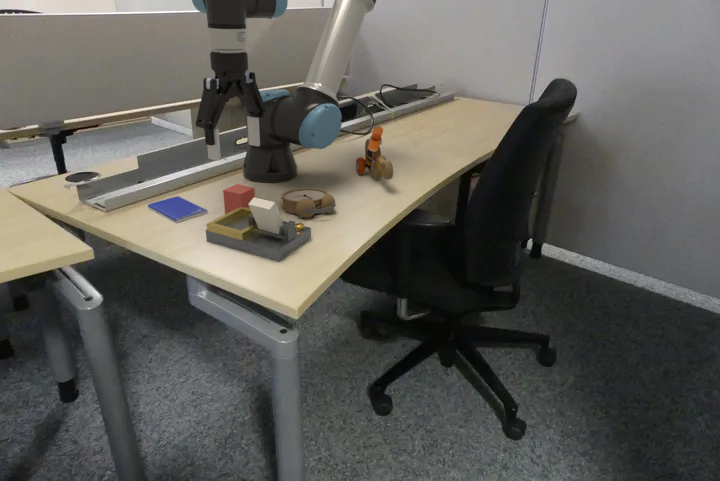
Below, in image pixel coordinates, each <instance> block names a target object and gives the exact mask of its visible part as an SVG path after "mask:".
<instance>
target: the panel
mask: <svg viewBox="0 0 720 481" xmlns="http://www.w3.org/2000/svg"><path fill="white" fill-rule="evenodd" d="M281 219H282V222H283V225H284V236H280V235H276V234H272V233H269V232H265V231H261V230H258V229H257V223H256V221H255V219H254V216H253V214H252V212H251V209H249V208H245V207H239V208H237V209H235V210H233V211H231V212H229V213H227V214H225V213H224V214H223V215H221V216H219V217H217V218H216V219H214V220H212V221H209V222H208V223H206V229H205V238H206V242H209V243H213V244H216V245H220V246H223V247H227V248H230V249H234V250H237V251H240V252H243V253H247V254H250V255H255V256H258V257H261V258H264V259H268V260H272V261H276V262H280V261H282V260H284V258H286V257H288V256H289V255H291V254H292V253H293V252H294V251H296V250H298V249H299V248H300V247H301V246H303V245H305V244H306V243H307V242H309V241H310V240H312V227H309V226H306V225H304V223H302V222H298V223H297V222H296V221H293V220H289V221H285V220H283V218H282V217H281ZM295 222H296V223H295Z"/></svg>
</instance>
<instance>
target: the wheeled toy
mask: <svg viewBox="0 0 720 481" xmlns="http://www.w3.org/2000/svg"><path fill="white" fill-rule="evenodd" d="M383 132H384V128H383V127H381V126H375V127H373V131H372V134H371V135H370V137H369V138H367V139H365V143H364V144H365V145H364V157H357V158H356V160H355V170H356V173H357V175H364V174H365V173H366V169H367V171H368V172H369V173H370V174H371V176H372V179H373V180H374V179H378V180H381V178H383V180H392V179H393V177H394V166H393V163H392V161H391V160H387V159H386V157H385V156H384V155H383V154H382V150H381V147H380V146H381V145H382V143H383V138H382V136H383V134H384V133H383Z"/></svg>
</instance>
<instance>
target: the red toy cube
mask: <svg viewBox="0 0 720 481" xmlns="http://www.w3.org/2000/svg"><path fill="white" fill-rule="evenodd" d="M222 191H223V194H222V195H223V203H224V204H223V205H224V206H223V207H224V215H225V214H227V213H229V212H231V211H233V210H235V209H237V208H239V207H245V208H249V209H250V207H249V205H248V204H249V203H250V202H251V200H252V199H253V198H256V191H255V186H254V187H253V186H249V185H244V184H241V183H236V184H234V185H231V186H229V187H227V188H225V189H223V190H222Z"/></svg>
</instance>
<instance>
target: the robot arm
mask: <svg viewBox="0 0 720 481" xmlns="http://www.w3.org/2000/svg"><path fill="white" fill-rule="evenodd" d="M191 3H192V5H193V7H194V8H195V9H196V11H198V12H200V13H201V14H206V21H207V36H208V47H209V49H211V50H212V51H210V53H209V57H210V58H209V60H210V68H211V70H212V71H213V73H214V78H211V77H204V78H203V81H202V83H203V84H202V85H203V86H202V87H203V90H202V96H201V99H200V104H199V106H198V107H199V108H198V110H197V111H198V113H197V117H196V119H195V120H196V121H195V127H196V128H201V129H203V130H204V131H203V132H204V140H205V141H204V142H205V144H206V145H207V146H206V147H207V155H208V156H207V157H208V158H207V159H209V160H213V161H217V162H219V161H222V159H221V158H222V157H221V146H220V145H221V142H220V133H219V129H218V128H216V127H217V125H218V122H219V120H220V118H221V116H222V112H223V111H224V108H225V107H226V103H228V102H229V100H231V99H234V98H238V99H239V101H240V103H241V104H242V105H243V107H244V112H245V113H244V114H245V125H246V127H245V128H246V136H247V137H246V139H247V150H246V153H245V158H244V161H243V165H242V175H243V177H244V178H245V179H247V180H248V181H249V180H250V181H253V182H260V183H278V182H279V183H280V182H285V181H289V180H291V179H294V178H296V176H297V175H298V165H297V162H296V160H295V159H296V158H295V157H294V153H293V151H292V148H291V145H296V146H300V147H304V148H306V149H316V150H323V149H326V148H327V147H329V146H331V145H332V144H333V143H334V142H335V140H337V137H338V136H339V133H340V132H341V129H342V124H343V122H342V121H341V120H343V119H342V118H343V116H342V112H341V110H340V108H339V107H340V102H339V100H338V97H337V95H338V91H339V89H340V85H341V83H342V80H343V78H344V74H345V71H346V70H347V66H348V63H349V61H350V59H351V55H352V52H353V49H354V47H355V44H356V41H357V38H358V35H359V33H360V29H361V28H362V25H363V21H364V18H365V16H366V14H368V13H371V12H372V11H373V10H374V8H375V5H376V3H377V0H334V2H333V5H332V7H331V10H330V13H329V15H328V19H327V21H326V24H325V27H324V30H323V32H322V35H321V38H320V40H319V43H318V46H317V49H316V51H315V54H314V57H313V60H312V62H311V64H310V65H311V66H310V67H309V71H308V74H307V76H306V79H305V82H304V83H303V84H301V85H298V86H296V89H295V91H294V94H293V96H292V97H290V92H289V90H288V89H286V88H277V89H275V88H274V89H263V90H260V89H259V86H258V85H257V84H258V83H257V78H256V74H255V72H254V71H253V72H252V71H248V70H249V57H248V53H247V52H246V51H245V50H246V49H248V44H247V30H246V29H247V19H270V20H272V19H274V18H275V19H276V18H279V17H282V15H284V14H285V12H286V10H287V8H288V3H289V1H288V0H191Z"/></svg>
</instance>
